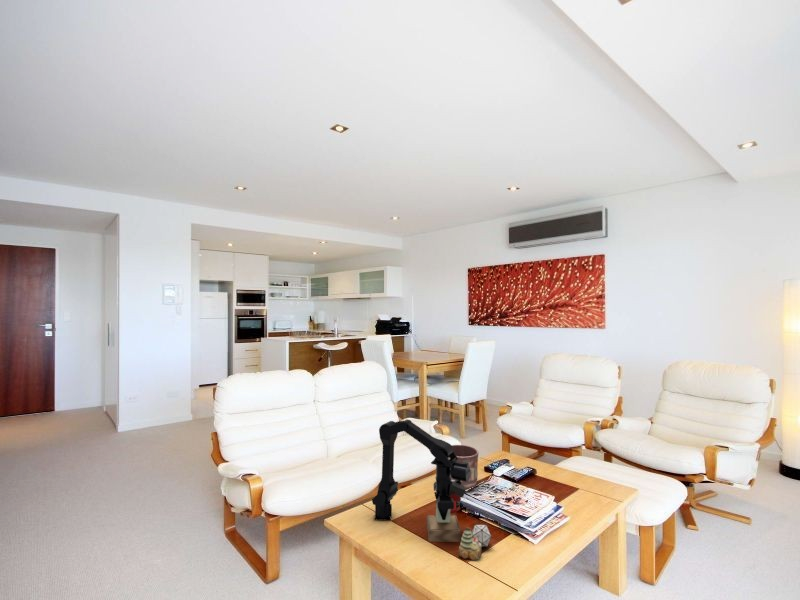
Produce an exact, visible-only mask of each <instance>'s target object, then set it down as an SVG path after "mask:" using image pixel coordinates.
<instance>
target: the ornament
mask: <svg viewBox="0 0 800 600" xmlns="http://www.w3.org/2000/svg"><path fill="white" fill-rule="evenodd" d="M471 532H472V530H471V528H470V527H469V526H467V527H465V530H463V533H462V536H461V542H459V543H460V544H459V547H458V556H459V558H460V557H461V558H462V559H465V560H467V559H470V560H471V561H477V560H479V558H481V553H482V547H481V543H479V541H478V539H477V538H473V537H472V534H471Z"/></svg>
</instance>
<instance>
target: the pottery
mask: <svg viewBox="0 0 800 600" xmlns="http://www.w3.org/2000/svg"><path fill="white" fill-rule="evenodd" d="M450 445H451V446H452V449H453V452H454V453H455V455H456V456H457V458H458V462H466V463H469V467H470V470H471V475H470V479H469V481H468V482H465V481H461V484H463V485H464V486H465V489H469V488H472V487H473V488H475V487H476V484H477V483H478V476H479V475H478V474H479V473H478V467H479V466H478V464H479V463H478V462H479V451H478V449H476V448H474V447H472V446H470V445H466V444H465V445H464V444H450ZM450 459H451V458H450V457H449V458H448V460H450ZM451 480H455V479H453V478H451ZM474 486H475V487H474ZM473 488H472V489H473Z"/></svg>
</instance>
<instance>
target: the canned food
mask: <svg viewBox="0 0 800 600" xmlns="http://www.w3.org/2000/svg"><path fill="white" fill-rule="evenodd" d="M451 481H455V480H451ZM449 497H451V498H452V499H453V501H454V509H450V513H456V512H459V511H460V510H461V508H460V500H461V501H462V497H460V496H458V495H455V494H453V493H452V495H450V496H449Z"/></svg>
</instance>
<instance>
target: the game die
mask: <svg viewBox="0 0 800 600" xmlns="http://www.w3.org/2000/svg"><path fill="white" fill-rule="evenodd" d="M472 525H473V526H472V529H471V534H472V537H473V538H477V539H478V541H479V543H481V548H482V547H485V548H487V549H489V544H490V542H491V539H493V538H494V536H493V535H492V534H491V533H490V530H489V528H488V522H486V523H485V524H476V523H474V522H472Z"/></svg>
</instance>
